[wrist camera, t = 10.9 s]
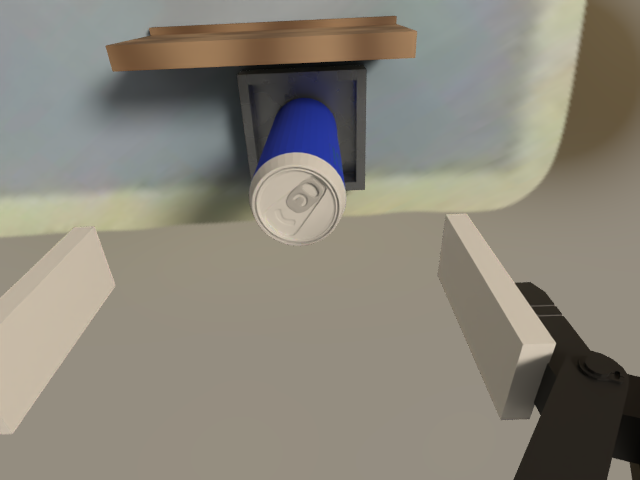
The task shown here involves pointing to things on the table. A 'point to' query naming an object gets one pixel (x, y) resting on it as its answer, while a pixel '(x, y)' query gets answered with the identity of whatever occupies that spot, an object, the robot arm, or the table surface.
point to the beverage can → (299, 176)
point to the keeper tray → (316, 83)
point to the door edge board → (265, 44)
